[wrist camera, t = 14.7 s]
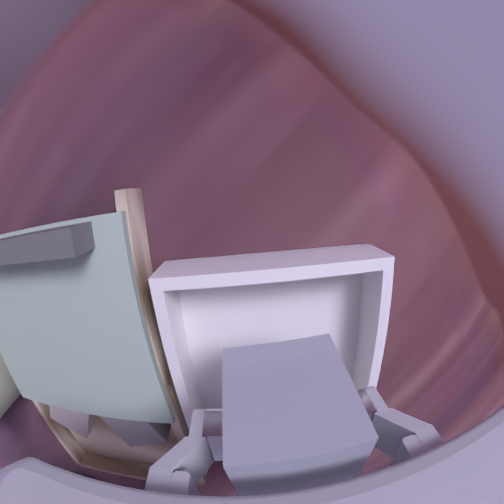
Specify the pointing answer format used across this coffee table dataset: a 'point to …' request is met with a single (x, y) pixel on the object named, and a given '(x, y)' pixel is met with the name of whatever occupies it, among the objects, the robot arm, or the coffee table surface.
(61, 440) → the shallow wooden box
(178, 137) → the coffee table surface
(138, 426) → the tilted grey tile
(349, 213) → the coffee table surface
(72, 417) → the pinkish grey square block
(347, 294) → the dish
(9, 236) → the lid
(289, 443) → the grey rectangular block
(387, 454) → the robot arm
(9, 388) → the can
